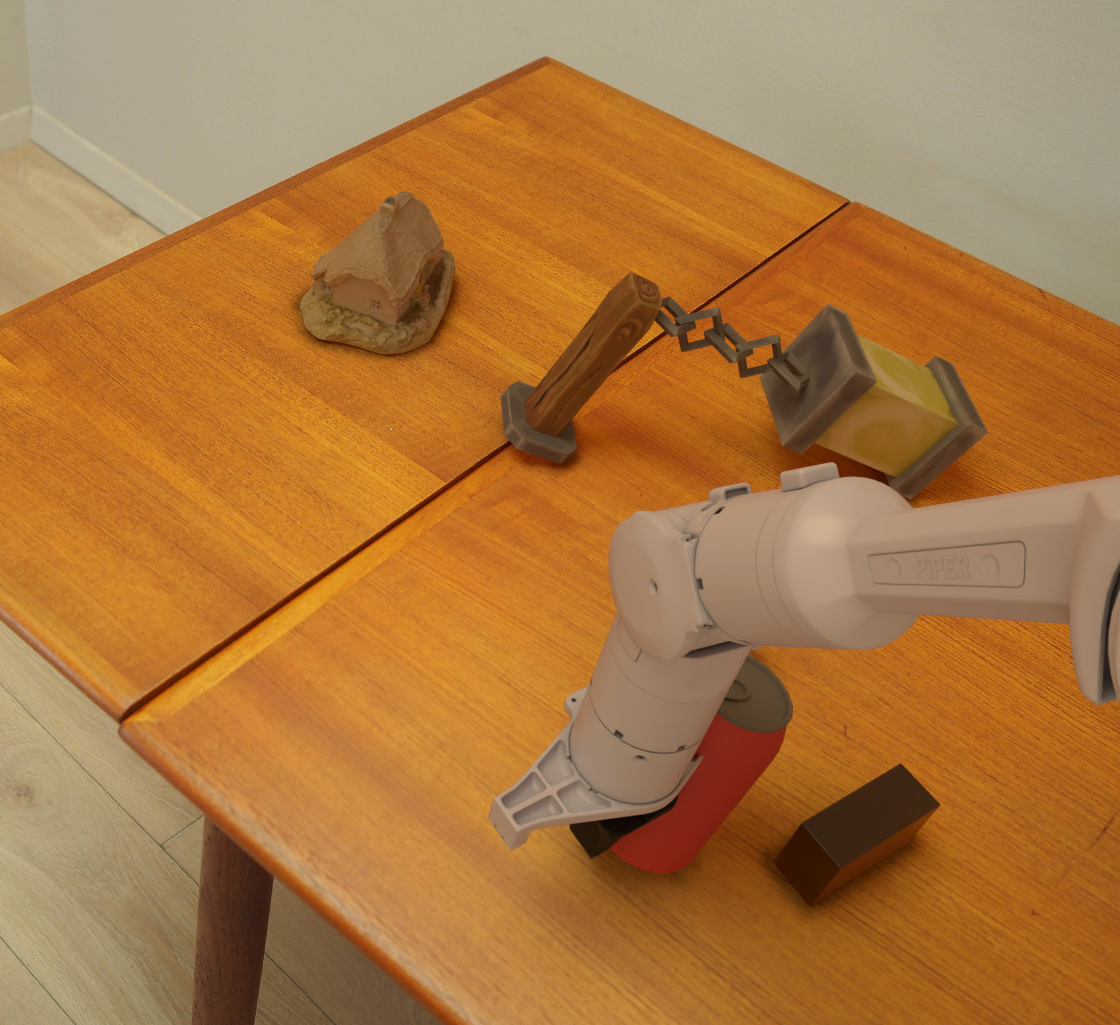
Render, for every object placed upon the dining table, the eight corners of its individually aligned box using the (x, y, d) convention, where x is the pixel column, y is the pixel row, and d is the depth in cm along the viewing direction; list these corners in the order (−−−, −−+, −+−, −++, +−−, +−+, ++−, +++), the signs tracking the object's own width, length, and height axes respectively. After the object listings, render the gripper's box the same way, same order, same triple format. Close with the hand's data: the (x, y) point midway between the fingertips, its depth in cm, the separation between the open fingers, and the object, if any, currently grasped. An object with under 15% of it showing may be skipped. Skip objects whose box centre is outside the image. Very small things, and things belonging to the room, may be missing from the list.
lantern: (803, 503, 99) (499, 381, 88) (953, 363, 88) (626, 206, 78) (826, 571, 94) (505, 451, 83) (988, 432, 83) (643, 274, 72)
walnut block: (907, 843, 67) (941, 804, 64) (810, 906, 64) (840, 868, 61) (870, 802, 69) (901, 762, 66) (773, 861, 65) (801, 822, 62)
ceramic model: (406, 375, 91) (420, 267, 83) (279, 326, 93) (282, 218, 86) (473, 284, 100) (492, 181, 93) (357, 243, 102) (366, 139, 95)
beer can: (562, 789, 65) (659, 643, 58) (649, 771, 69) (750, 631, 62) (625, 891, 61) (736, 746, 54) (713, 866, 65) (828, 727, 58)
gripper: (710, 585, 59) (642, 731, 68) (472, 694, 52) (435, 838, 62) (807, 689, 55) (720, 828, 65) (563, 821, 49) (508, 952, 58)
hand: (585, 840), depth 63 cm, fingers closed, pressing on beer can
